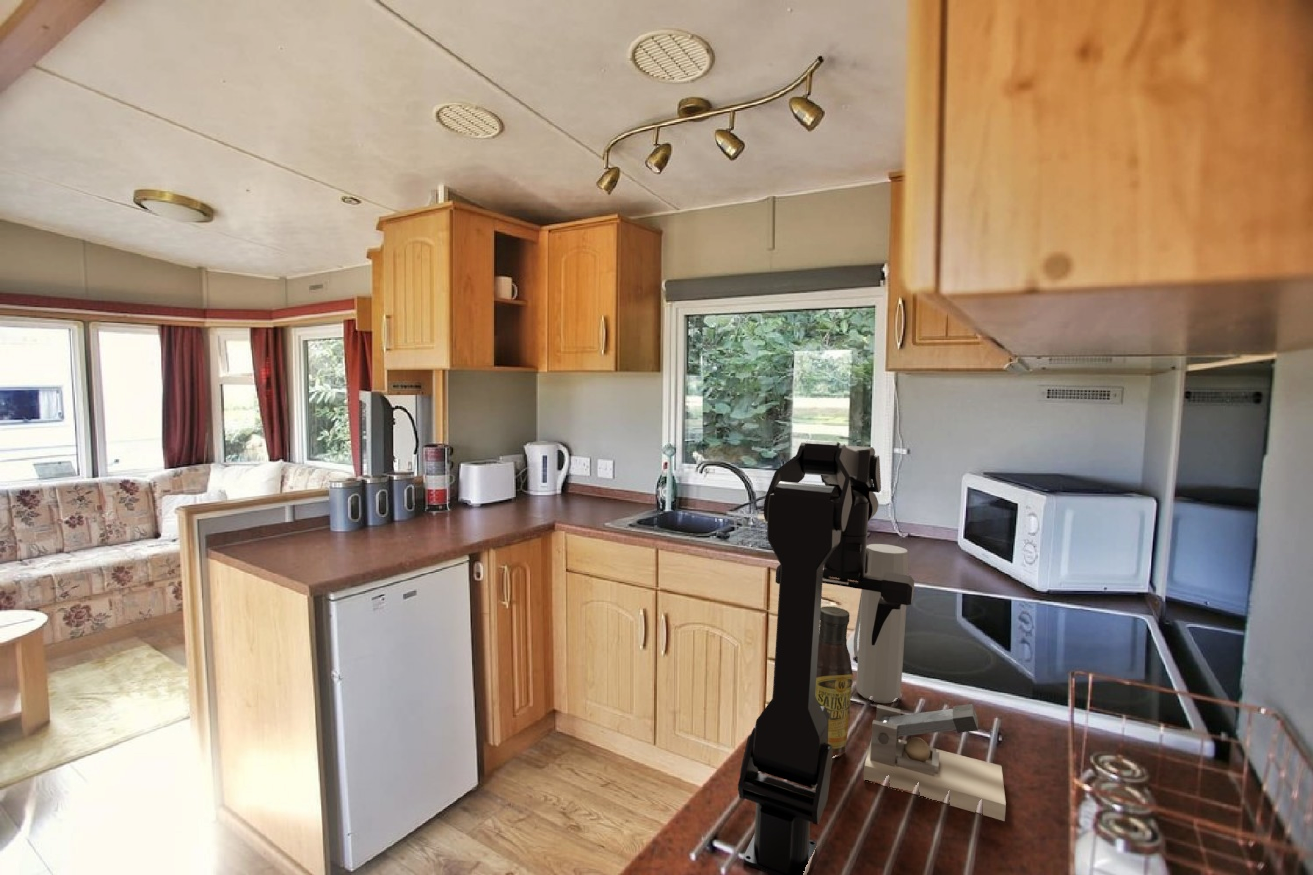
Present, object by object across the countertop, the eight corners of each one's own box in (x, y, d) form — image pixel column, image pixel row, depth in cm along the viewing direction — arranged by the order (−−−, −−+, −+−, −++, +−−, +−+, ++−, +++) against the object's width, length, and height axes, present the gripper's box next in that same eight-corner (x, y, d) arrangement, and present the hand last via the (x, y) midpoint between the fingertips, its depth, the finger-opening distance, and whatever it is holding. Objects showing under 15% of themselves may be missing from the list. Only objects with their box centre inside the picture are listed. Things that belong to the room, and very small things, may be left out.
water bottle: (911, 700, 103) (921, 551, 101) (878, 710, 99) (888, 556, 97) (868, 677, 111) (876, 539, 109) (836, 685, 107) (844, 543, 105)
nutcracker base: (1004, 821, 73) (1008, 763, 73) (863, 779, 80) (866, 727, 80) (1000, 780, 81) (1004, 728, 81) (872, 746, 88) (875, 698, 88)
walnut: (928, 770, 79) (930, 747, 79) (903, 763, 81) (905, 741, 81) (929, 758, 82) (931, 736, 82) (905, 752, 83) (906, 730, 83)
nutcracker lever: (978, 730, 76) (972, 716, 77) (880, 740, 82) (875, 727, 82) (977, 717, 80) (972, 703, 80) (883, 728, 85) (878, 715, 85)
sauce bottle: (814, 764, 83) (822, 619, 82) (792, 739, 89) (799, 604, 88) (857, 758, 85) (865, 617, 84) (832, 734, 91) (840, 602, 90)
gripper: (919, 530, 93) (912, 632, 93) (795, 516, 101) (790, 610, 102) (914, 545, 83) (907, 659, 83) (777, 527, 91) (771, 632, 92)
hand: (840, 637), depth 90 cm, fingers open, 9 cm apart
